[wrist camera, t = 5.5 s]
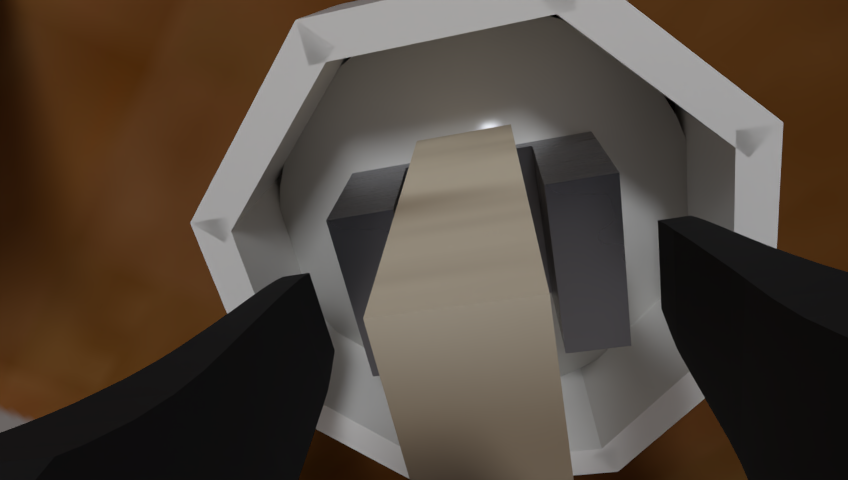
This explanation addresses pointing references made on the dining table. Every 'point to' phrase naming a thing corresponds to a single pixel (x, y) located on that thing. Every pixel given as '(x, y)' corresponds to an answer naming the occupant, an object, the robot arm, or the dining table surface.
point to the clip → (554, 225)
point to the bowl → (530, 121)
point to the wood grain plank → (468, 319)
